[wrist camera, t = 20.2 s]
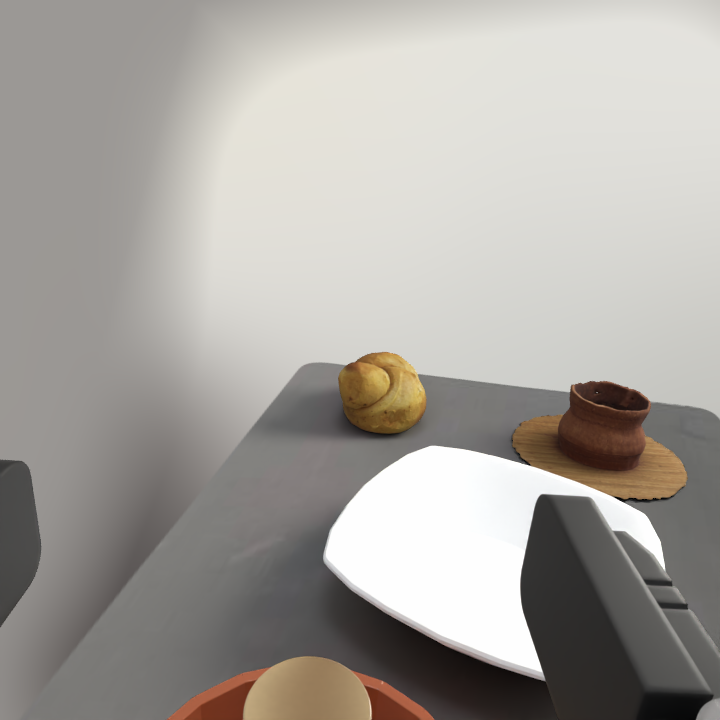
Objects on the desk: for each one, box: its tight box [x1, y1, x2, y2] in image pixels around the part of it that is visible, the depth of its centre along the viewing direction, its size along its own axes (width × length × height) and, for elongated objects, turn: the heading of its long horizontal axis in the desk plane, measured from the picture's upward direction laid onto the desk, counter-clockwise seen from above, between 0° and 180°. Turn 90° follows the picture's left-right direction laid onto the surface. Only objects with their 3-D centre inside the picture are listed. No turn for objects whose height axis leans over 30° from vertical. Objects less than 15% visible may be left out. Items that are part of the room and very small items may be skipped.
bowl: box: [323, 446, 665, 681], centre depth 43 cm, size 22×22×5 cm
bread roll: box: [338, 352, 426, 433], centre depth 69 cm, size 13×10×8 cm
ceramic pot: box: [512, 381, 688, 500], centre depth 64 cm, size 18×18×7 cm
